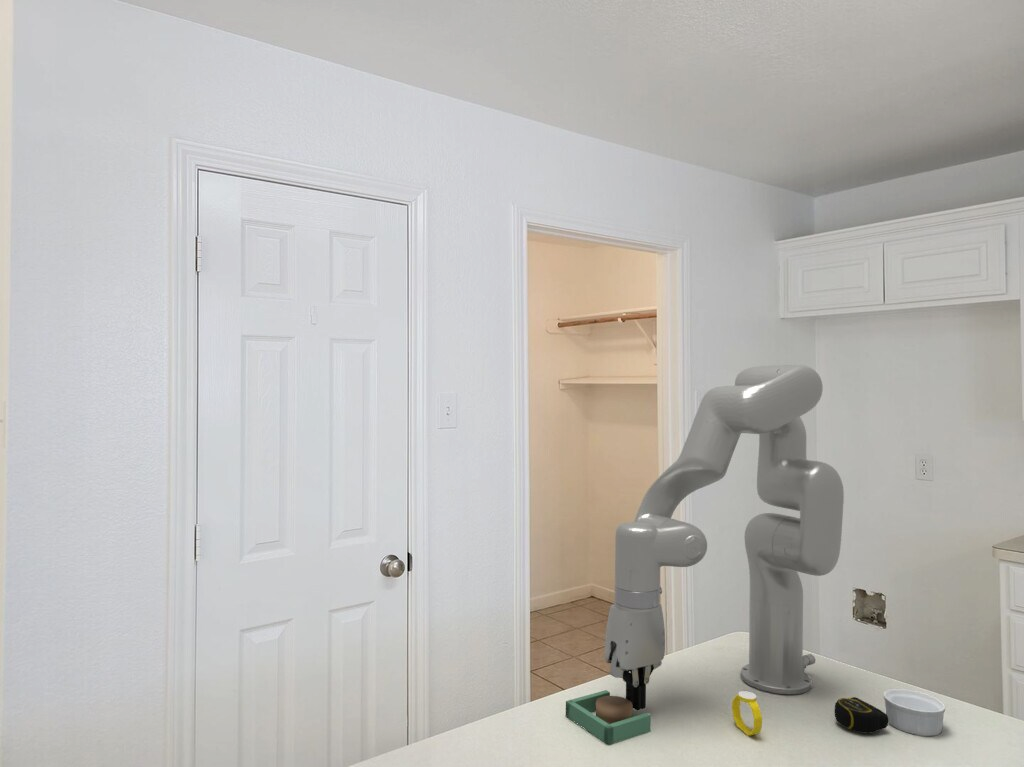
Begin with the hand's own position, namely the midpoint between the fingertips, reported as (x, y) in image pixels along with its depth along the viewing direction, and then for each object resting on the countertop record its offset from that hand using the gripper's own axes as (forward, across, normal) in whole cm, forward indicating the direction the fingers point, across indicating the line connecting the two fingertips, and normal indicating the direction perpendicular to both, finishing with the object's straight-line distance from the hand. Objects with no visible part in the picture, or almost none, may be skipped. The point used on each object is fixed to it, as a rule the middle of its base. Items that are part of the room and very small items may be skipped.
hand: (635, 706), depth 115 cm
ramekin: (+2, -38, +26) cm, 46 cm away
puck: (+2, +5, 0) cm, 5 cm away
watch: (+2, -12, +13) cm, 18 cm away
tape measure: (+2, -30, +21) cm, 37 cm away
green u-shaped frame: (+1, +6, 0) cm, 6 cm away
